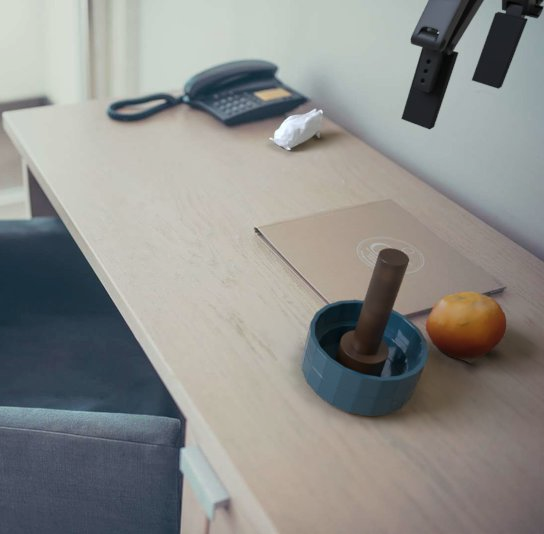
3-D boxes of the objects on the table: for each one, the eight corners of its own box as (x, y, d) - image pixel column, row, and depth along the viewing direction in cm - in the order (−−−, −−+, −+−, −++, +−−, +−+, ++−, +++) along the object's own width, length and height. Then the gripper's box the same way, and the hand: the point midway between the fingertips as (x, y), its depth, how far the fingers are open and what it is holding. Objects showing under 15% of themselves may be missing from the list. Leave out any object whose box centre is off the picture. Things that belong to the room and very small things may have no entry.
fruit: (491, 381, 69) (477, 313, 67) (424, 370, 76) (409, 308, 74) (526, 347, 73) (514, 283, 72) (460, 340, 80) (446, 281, 78)
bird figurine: (293, 135, 121) (265, 139, 114) (310, 102, 117) (282, 104, 110) (314, 148, 119) (286, 154, 111) (332, 115, 115) (304, 119, 108)
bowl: (432, 380, 71) (449, 341, 67) (373, 439, 65) (388, 400, 61) (340, 323, 78) (351, 285, 74) (278, 372, 72) (287, 333, 68)
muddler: (388, 373, 71) (431, 258, 61) (363, 396, 68) (404, 279, 58) (349, 349, 74) (385, 235, 64) (323, 370, 71) (356, 254, 61)
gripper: (560, -183, 55) (475, 59, 69) (414, -172, 42) (344, 127, 55) (658, -176, 51) (548, 80, 64) (531, -162, 38) (425, 159, 51)
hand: (453, 102), depth 60 cm, fingers open, 13 cm apart
